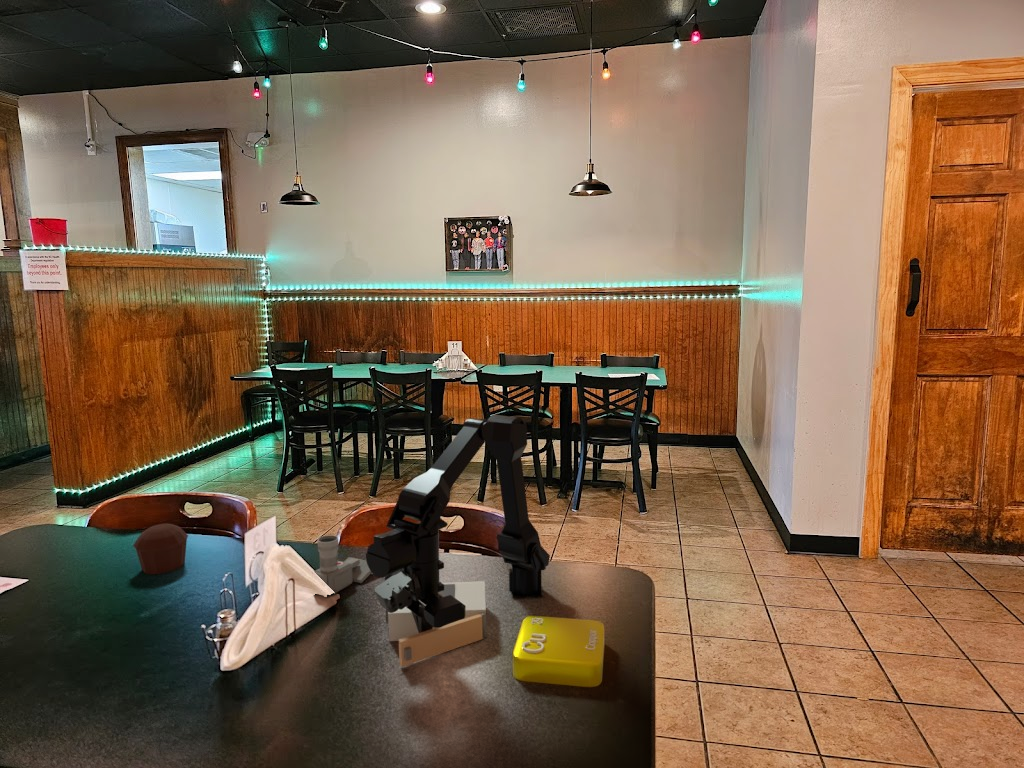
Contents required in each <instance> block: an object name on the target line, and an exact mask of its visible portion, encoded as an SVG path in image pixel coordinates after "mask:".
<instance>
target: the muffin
mask: <svg viewBox="0 0 1024 768" xmlns="http://www.w3.org/2000/svg"><path fill="white" fill-rule="evenodd" d="M188 537H189V535H188V534H187V533H186V532H185V531H184V529H182V528H181V527H180V526H178V525H177V524H172V523H159V524H155V525H152V526H150V527H147V529H145V530H143V532H141V533H140V535H139V536H138V538H136V540H135V542H134V544H132V547H133V548H134V549H135V551H136V553H137V557H138V560H139V561H138V562H139V564H140V569H141V571H142V570H143V571H142V572H143V573H145V575H155V574H158V575H162V574H161V573H163V574H166V572H169V573H172V572H174V571H176V570H179V569H182V567H183V565H184V564H185V563H186V552H187V543H188V542H187V541H188ZM181 566H182V567H181ZM178 568H179V569H178ZM173 570H174V571H173ZM171 571H172V572H171Z"/></svg>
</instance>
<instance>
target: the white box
mask: <svg viewBox="0 0 1024 768" xmlns="http://www.w3.org/2000/svg"><path fill="white" fill-rule="evenodd" d="M441 583H442V584H444V590H443V591H440V592H439V593H441V594H442V595H444V596H448V595H451V596H453V597H454V598H456V599H457V600H459V601H460V602H461V603H463V604H464V605H465V606H466V616H465V618H468V617H471V616H475V615H478V614H481V613H485V614H486V615H487V612H486V611H487V608H486V605H487V604H486V586H485V585H486V583H485V580H480V581H478V580H477V581H476V580H475V581H456V582H455V581H451V582H441ZM465 618H464V619H465ZM461 620H462V619H461ZM458 621H459V620H458ZM385 622H386V625H388V641H389V642H399V639H402V638H405V637H408V636H412V635H415V634H418V633H419V632H418V629H417V626H416V623H415V620H414V617H413V615H412V612H411V611H410V610H409V609H408V608H407V607H405V608H403V609H398V610H397V611H396V612H393V613H389V612H388V611H387V610H386V609H385ZM434 628H436V627H433V628H432V629H434Z"/></svg>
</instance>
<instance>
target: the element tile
mask: <svg viewBox="0 0 1024 768" xmlns="http://www.w3.org/2000/svg"><path fill="white" fill-rule="evenodd" d="M604 653H605V625H604V624H603V623H602V622H601V621H600V620H599V621H598V620H594V619H593V620H592V619H581V618H579V619H578V618H567V617H554V616H553V617H552V616H544V615H542V616H540V615H527V616H526V617H525V618H523V620H522V622H521V626H520V629H519V631H518V635H517V638H516V641H515V644H514V647H513V651H512V676H513V678H514V679H515V680H518V681H520V682H521V681H522V682H528V683H541V684H551V685H562V686H573V687H584V688H593V687H594V688H595V687H598V686H600V685H601V683H602V682H603V671H604V655H605V654H604Z"/></svg>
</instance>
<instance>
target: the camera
mask: <svg viewBox="0 0 1024 768" xmlns="http://www.w3.org/2000/svg"><path fill="white" fill-rule="evenodd" d="M338 550H339V537H338V536H337V535H333V534H330V535H329V534H328V535H327V534H326V535H322V536H320V537H318V538H317V552H319V568H318V569H316V570H314V571H313V572H315V573H316V574H317V575H318V576H319V577H320V578H321V579H322V580H323V581H324V582H325V583H326V584H327V585H328V586H329V587H330V588H331V589H332V590H333V591H334V592H336V593H335V594H337V593H338V592H340V591H342V590H344V589H345V588H347V587H349V586H350V585H351V584H352V583H359V584H362V583H364V581H365V580H366V579H367V578H368V577H369V576H370V575H371V574H373V573H372V572H371V571H370V569H369V567H368V565H367V561H366V559H362V558H361V559H360V558H355V557H351V556H348V557H347V558H346V559H345V560H344V561H342V560H341V561H340V560H339V559H338Z"/></svg>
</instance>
